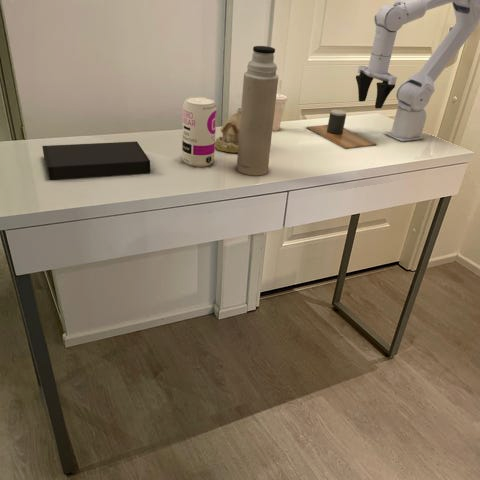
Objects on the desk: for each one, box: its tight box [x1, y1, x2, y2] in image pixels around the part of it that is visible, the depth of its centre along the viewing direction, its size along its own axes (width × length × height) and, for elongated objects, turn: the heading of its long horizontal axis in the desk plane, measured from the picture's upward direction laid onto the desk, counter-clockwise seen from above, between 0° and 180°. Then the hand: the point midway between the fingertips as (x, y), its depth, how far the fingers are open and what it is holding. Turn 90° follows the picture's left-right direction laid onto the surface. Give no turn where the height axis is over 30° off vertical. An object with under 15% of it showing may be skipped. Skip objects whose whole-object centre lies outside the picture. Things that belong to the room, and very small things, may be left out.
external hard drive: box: [41, 140, 151, 180], centre depth 121 cm, size 14×23×3 cm, turn 112°
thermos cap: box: [327, 109, 347, 135], centre depth 157 cm, size 5×5×6 cm
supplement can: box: [181, 96, 218, 168], centre depth 125 cm, size 8×8×15 cm
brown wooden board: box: [306, 124, 377, 150], centre depth 157 cm, size 12×20×1 cm, turn 29°
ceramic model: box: [215, 107, 241, 153], centre depth 139 cm, size 14×11×10 cm
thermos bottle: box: [236, 45, 279, 176], centre depth 120 cm, size 8×8×28 cm
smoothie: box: [272, 80, 288, 132], centre depth 153 cm, size 6×6×14 cm
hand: (369, 104), depth 152 cm, fingers open, 7 cm apart
